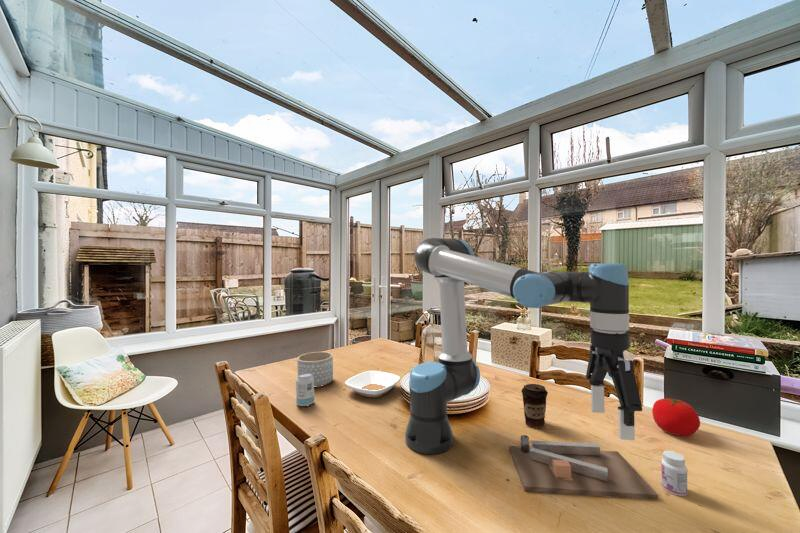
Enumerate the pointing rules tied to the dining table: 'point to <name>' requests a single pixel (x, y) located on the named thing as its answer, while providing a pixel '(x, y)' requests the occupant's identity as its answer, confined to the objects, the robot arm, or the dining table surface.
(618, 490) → the board
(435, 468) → the dining table surface
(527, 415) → the coffee cup
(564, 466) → the block
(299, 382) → the beverage can
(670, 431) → the tomato
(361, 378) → the bowl
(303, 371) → the planter
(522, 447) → the bar
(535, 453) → the bar
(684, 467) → the pill bottle
